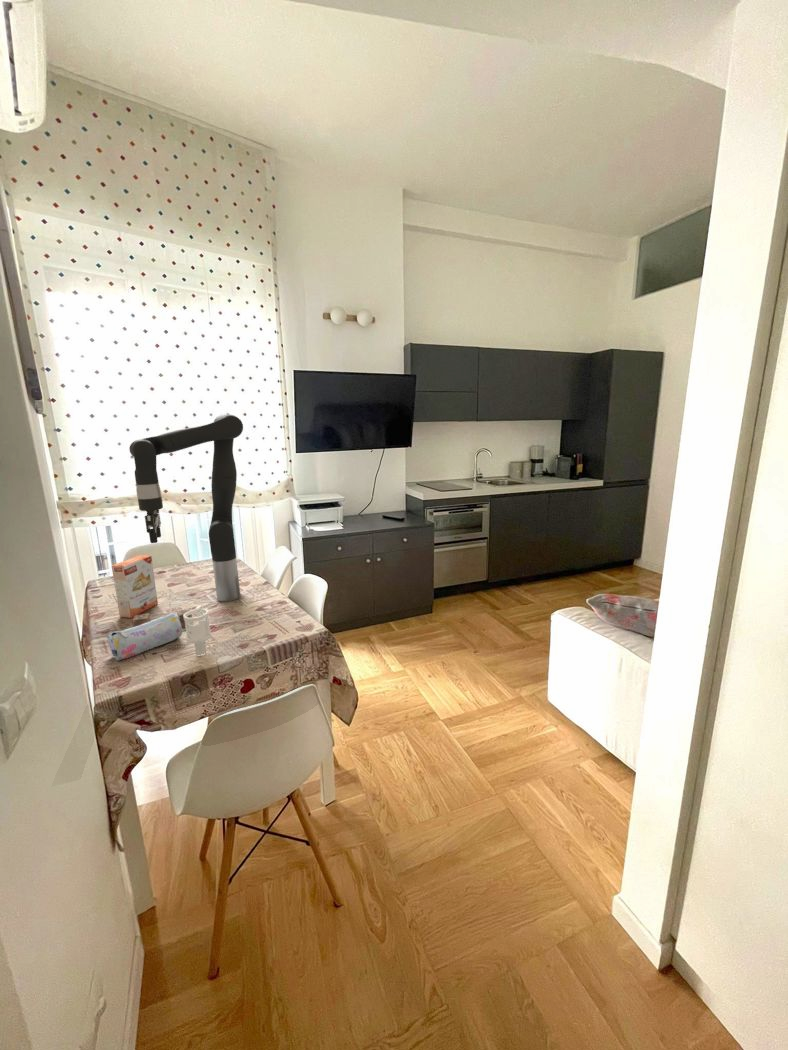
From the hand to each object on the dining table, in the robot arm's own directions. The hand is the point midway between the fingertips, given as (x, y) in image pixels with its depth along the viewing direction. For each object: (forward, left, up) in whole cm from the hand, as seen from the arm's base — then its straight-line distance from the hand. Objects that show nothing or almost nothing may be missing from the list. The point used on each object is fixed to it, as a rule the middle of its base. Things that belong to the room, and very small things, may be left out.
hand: (156, 540), depth 157 cm
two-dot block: (-7, +10, -30) cm, 33 cm away
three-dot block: (+7, +8, -30) cm, 32 cm away
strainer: (-14, +36, -30) cm, 49 cm away
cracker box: (+11, -10, -30) cm, 34 cm away
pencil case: (+3, +25, -30) cm, 40 cm away
